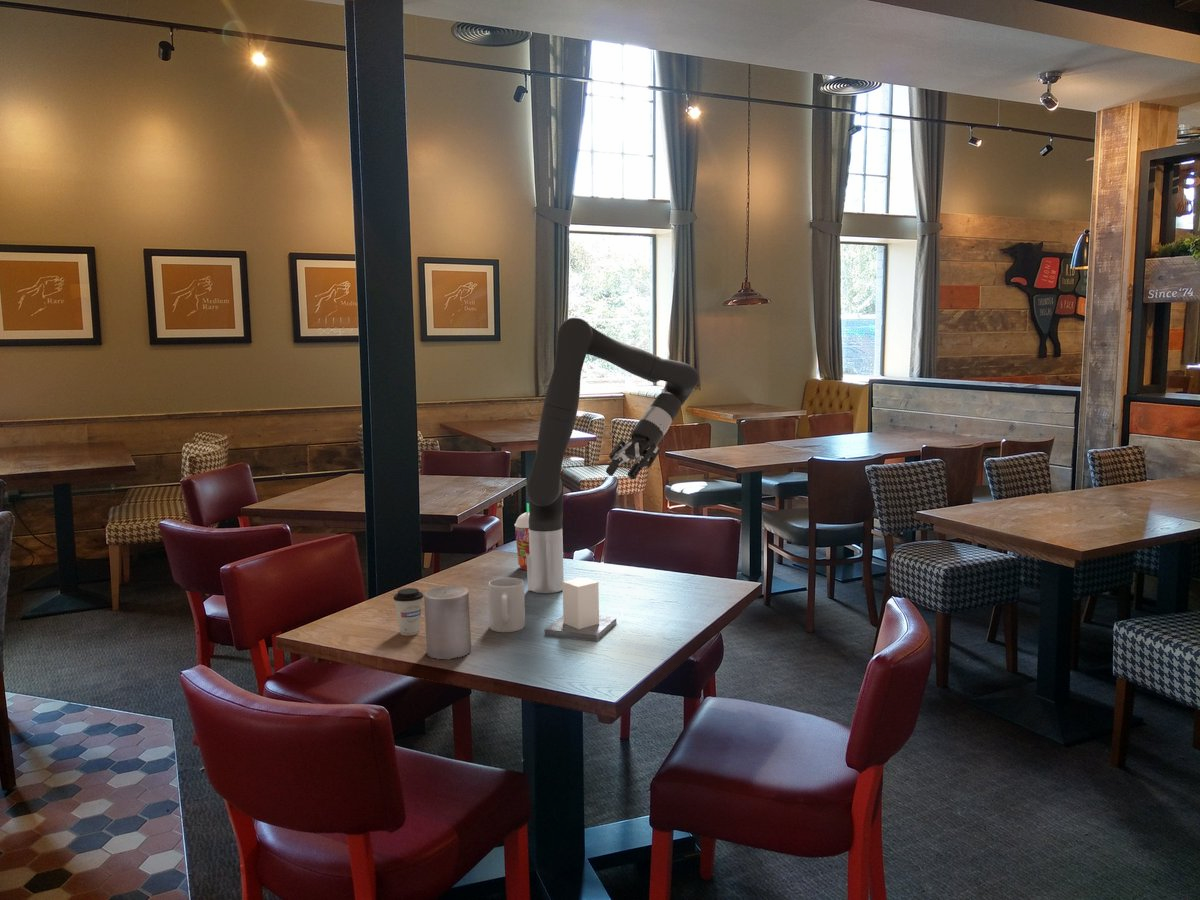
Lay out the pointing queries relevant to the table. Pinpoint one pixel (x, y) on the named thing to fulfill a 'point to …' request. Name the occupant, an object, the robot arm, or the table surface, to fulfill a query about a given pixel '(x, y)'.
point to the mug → (506, 604)
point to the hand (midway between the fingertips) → (619, 475)
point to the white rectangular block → (580, 602)
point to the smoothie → (523, 538)
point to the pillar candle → (447, 622)
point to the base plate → (584, 633)
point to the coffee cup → (409, 610)
